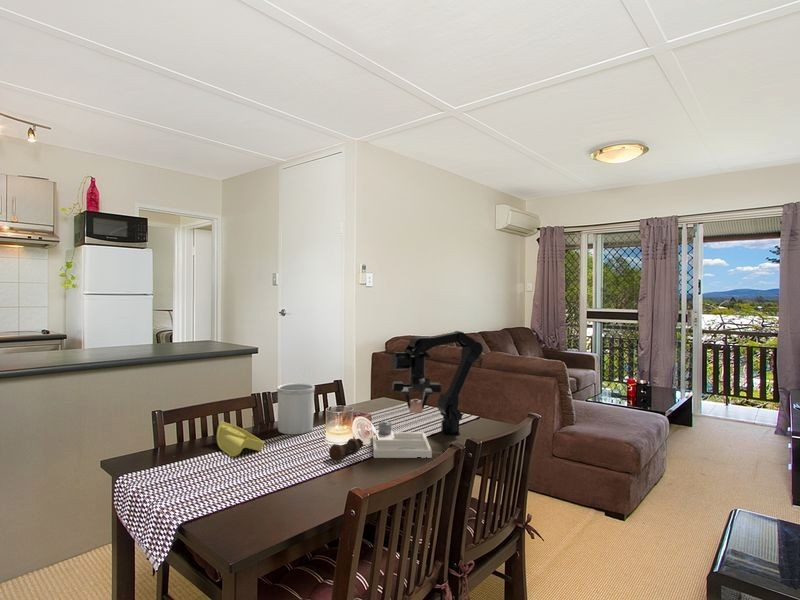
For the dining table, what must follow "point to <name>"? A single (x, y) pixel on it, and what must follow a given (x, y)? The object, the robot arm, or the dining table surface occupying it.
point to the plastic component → (236, 439)
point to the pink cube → (416, 406)
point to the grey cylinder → (385, 428)
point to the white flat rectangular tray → (401, 445)
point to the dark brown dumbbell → (344, 449)
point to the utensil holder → (295, 408)
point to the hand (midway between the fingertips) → (415, 408)
